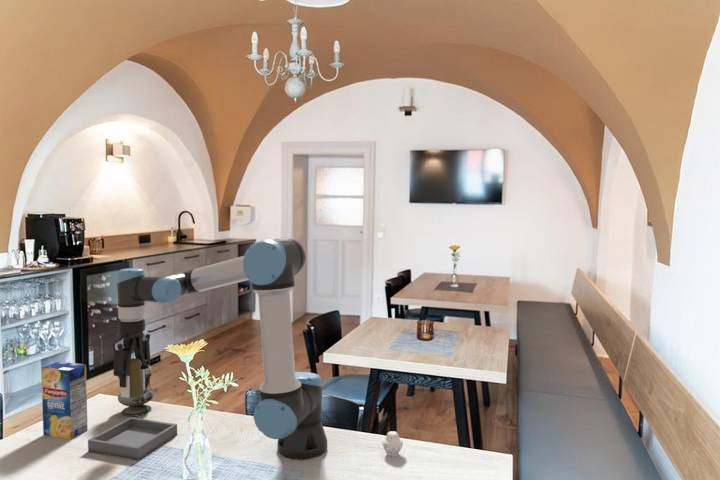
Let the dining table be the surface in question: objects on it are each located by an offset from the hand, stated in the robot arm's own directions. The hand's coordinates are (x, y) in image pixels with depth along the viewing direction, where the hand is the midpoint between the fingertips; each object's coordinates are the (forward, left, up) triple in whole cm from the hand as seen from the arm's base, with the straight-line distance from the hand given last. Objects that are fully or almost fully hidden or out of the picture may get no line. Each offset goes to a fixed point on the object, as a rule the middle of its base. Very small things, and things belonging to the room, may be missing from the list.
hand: (133, 393), depth 163 cm
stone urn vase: (+17, -21, -16) cm, 31 cm away
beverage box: (+26, +1, -16) cm, 31 cm away
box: (0, 0, -16) cm, 16 cm away
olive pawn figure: (0, 0, -1) cm, 1 cm away
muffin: (-78, -18, -16) cm, 82 cm away
